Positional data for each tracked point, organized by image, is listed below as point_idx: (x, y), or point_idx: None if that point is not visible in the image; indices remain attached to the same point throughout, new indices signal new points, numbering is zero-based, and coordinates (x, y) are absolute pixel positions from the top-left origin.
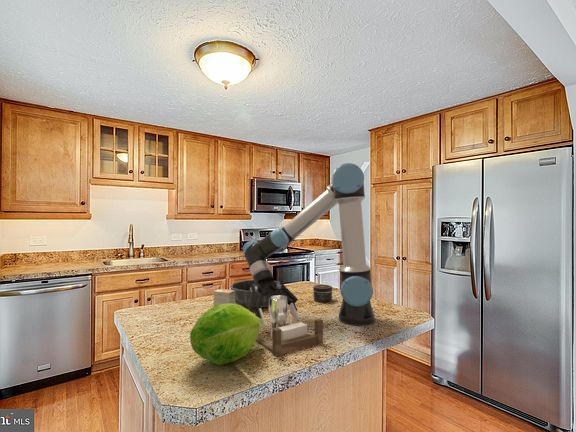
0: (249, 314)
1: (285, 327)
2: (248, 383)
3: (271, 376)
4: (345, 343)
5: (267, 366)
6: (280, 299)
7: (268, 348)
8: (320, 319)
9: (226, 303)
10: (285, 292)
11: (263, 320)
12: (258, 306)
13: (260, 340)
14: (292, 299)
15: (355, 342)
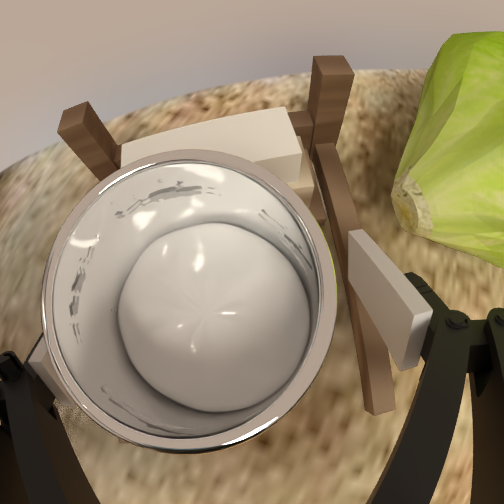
0: (488, 40)
1: (250, 142)
2: (412, 80)
3: (357, 77)
4: (47, 180)
5: (361, 116)
6: (195, 149)
7: (344, 179)
8: (63, 119)
9: None
10: (6, 498)
11: (377, 245)
12: (441, 332)
13: None
14: (5, 388)
15: (26, 179)
